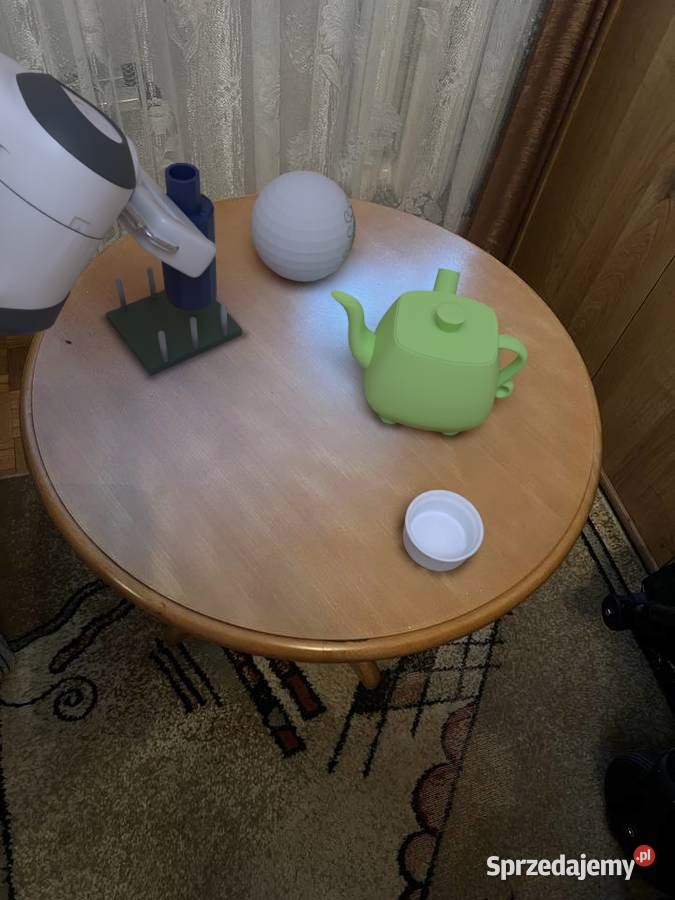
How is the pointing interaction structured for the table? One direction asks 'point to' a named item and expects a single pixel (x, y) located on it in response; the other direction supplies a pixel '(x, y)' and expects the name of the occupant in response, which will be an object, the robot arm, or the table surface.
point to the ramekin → (441, 530)
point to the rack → (169, 328)
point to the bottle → (201, 213)
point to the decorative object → (303, 225)
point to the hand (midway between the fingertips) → (191, 229)
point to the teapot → (433, 358)
